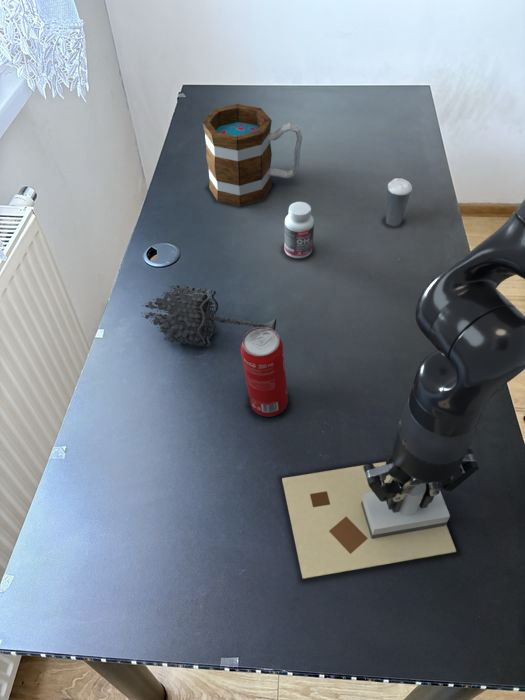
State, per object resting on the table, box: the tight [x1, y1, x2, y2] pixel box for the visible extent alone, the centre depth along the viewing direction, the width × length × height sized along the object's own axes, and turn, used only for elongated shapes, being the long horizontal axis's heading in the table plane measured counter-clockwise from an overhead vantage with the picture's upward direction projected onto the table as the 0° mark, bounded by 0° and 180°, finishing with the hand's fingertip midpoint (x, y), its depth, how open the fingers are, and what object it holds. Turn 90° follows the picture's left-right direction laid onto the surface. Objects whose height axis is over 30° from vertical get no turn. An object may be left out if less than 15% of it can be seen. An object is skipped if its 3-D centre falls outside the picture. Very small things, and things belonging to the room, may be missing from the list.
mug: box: [201, 103, 303, 207], centre depth 122 cm, size 20×14×15 cm
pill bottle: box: [283, 201, 315, 259], centre depth 110 cm, size 5×5×10 cm
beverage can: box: [240, 326, 289, 417], centre depth 86 cm, size 6×6×15 cm
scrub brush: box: [361, 483, 451, 539], centre depth 76 cm, size 10×5×8 cm, turn 100°
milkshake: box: [385, 177, 413, 227], centre depth 115 cm, size 4×5×10 cm
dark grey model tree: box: [140, 284, 277, 347], centre depth 97 cm, size 9×22×9 cm, turn 79°
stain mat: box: [281, 461, 457, 580], centre depth 80 cm, size 20×14×1 cm
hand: (407, 503), depth 76 cm, fingers closed on scrub brush, 3 cm apart
